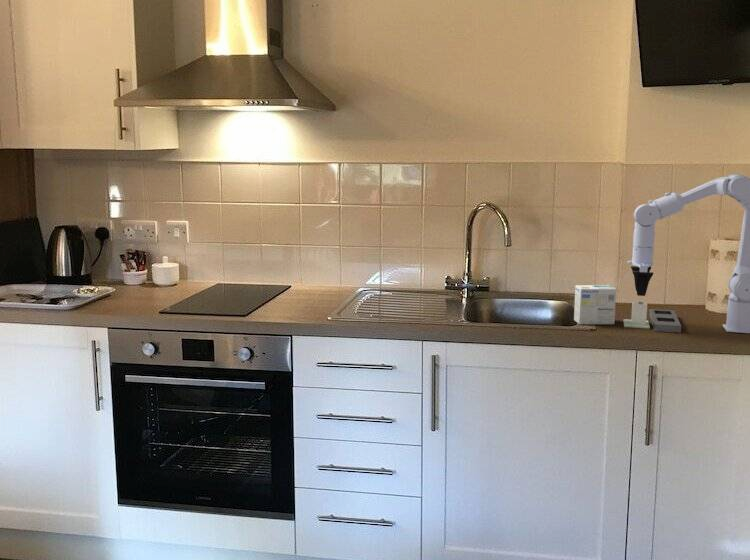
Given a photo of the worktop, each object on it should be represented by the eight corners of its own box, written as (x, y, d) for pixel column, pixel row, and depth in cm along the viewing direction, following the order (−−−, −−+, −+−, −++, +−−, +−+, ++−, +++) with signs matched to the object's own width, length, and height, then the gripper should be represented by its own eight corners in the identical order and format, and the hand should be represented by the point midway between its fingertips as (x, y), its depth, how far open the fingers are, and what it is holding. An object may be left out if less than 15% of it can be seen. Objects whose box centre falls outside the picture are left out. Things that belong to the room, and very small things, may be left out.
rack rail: (673, 316, 244) (674, 310, 243) (680, 332, 224) (681, 325, 223) (649, 315, 245) (649, 308, 245) (654, 331, 225) (654, 324, 225)
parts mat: (648, 322, 236) (648, 320, 236) (649, 328, 229) (649, 326, 228) (623, 320, 238) (623, 319, 238) (624, 326, 230) (624, 325, 230)
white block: (645, 322, 234) (646, 301, 233) (646, 325, 231) (647, 304, 230) (631, 321, 235) (632, 300, 234) (631, 324, 232) (632, 303, 231)
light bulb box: (607, 319, 240) (610, 284, 238) (615, 324, 233) (617, 288, 231) (572, 319, 239) (574, 284, 238) (579, 324, 233) (580, 288, 231)
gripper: (627, 242, 237) (624, 287, 239) (629, 249, 223) (626, 297, 226) (652, 243, 235) (649, 289, 238) (656, 250, 221) (653, 298, 224)
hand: (640, 293), depth 232 cm, fingers open, 7 cm apart
